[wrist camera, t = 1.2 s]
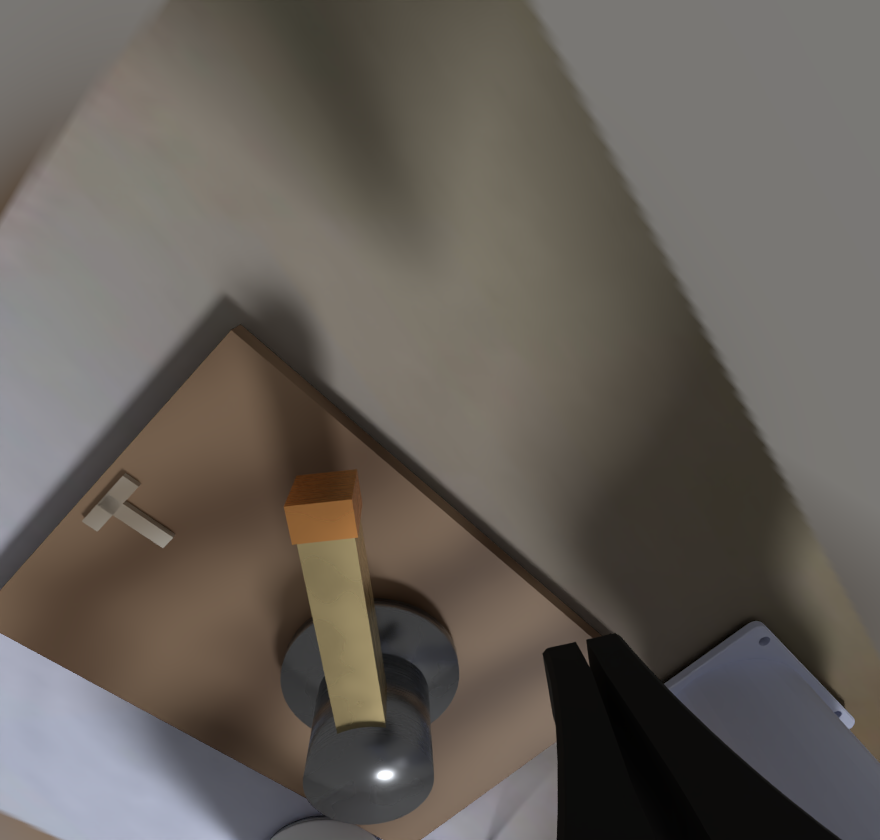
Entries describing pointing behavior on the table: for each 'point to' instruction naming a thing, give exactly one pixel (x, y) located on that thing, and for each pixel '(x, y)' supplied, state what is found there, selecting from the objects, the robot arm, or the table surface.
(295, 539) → the lever door handle
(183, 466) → the stand
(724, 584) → the table surface
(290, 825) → the can
